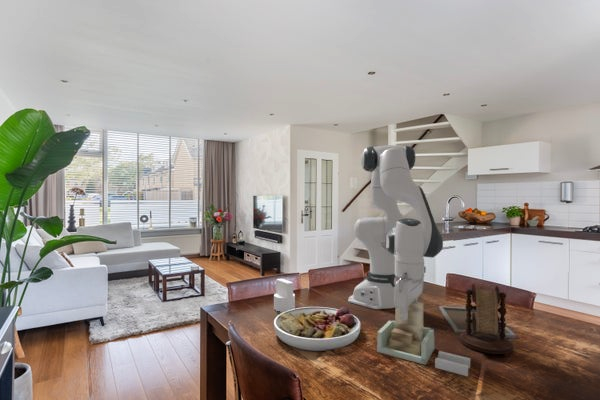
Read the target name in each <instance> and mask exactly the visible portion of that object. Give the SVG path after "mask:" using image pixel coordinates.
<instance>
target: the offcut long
mask: <svg viewBox="0 0 600 400" xmlns="http://www.w3.org/2000/svg"><path fill="white" fill-rule="evenodd" d="M390 349H394V350H398V351H401V352H405V353H409V354H413V355H417V356H420V355H421V342H417V341H413V342H412V344H408V343H404V342H400V341H395V340H391V338H390Z"/></svg>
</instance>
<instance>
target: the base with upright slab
mask: <svg viewBox="0 0 600 400" xmlns="http://www.w3.org/2000/svg"><path fill="white" fill-rule="evenodd" d="M275 287H276V288H275V292H274V294H273V310H274V309H275V310H276V311H275V310H274V311H275V312H277V311H280V312H279V313H283V312H285V311H288V310H292V309H296V302H295V301H296V294H295V293H294V282H293V281H291V280H287V279H284V278H277V279H276V280H275Z"/></svg>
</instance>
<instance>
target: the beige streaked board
mask: <svg viewBox="0 0 600 400" xmlns="http://www.w3.org/2000/svg"><path fill="white" fill-rule="evenodd" d="M394 310H395V313H394V315H395V316H394V319H395V320H394V321H395V328H396V329H400V330H405V331H409V332H414V341H417V342H422V340H423V327H424V302H419V301H417V302H415V301H413V302H412V303H411V304H410V305H409V306H408V313H409V318H408V319H407V320H403V319H402V318H401V311H400V308H399V307H396V306H395V309H394Z"/></svg>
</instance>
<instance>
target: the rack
mask: <svg viewBox="0 0 600 400" xmlns="http://www.w3.org/2000/svg"><path fill="white" fill-rule="evenodd" d="M394 328H395V320H393V319H389V320H388V321H387V322H386V323H385V324H384V325H383V326H382V327H380V329H379V330H378V331H377V332H376V335H377V337H376V338H377V341H376V344H377V345H376V346H377V347H376V349H377V350H376V351H377V353H380V354H384V355H387V356H392V357H394V358H398V359H402V360H406V361H410V362H413V363H417V364H421V365H425V366H426V365H427V364H428V362H429V359H430V357H431V356H432V355H433V354H432V353H433V352H434V351H435V328H431V327H427V326H423V340H422V342H421V355H420V356H417V355H413V354H409V353H405V352H401V351H398V350H394V349H390V338H391V331H392V330H393V329H394Z"/></svg>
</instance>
